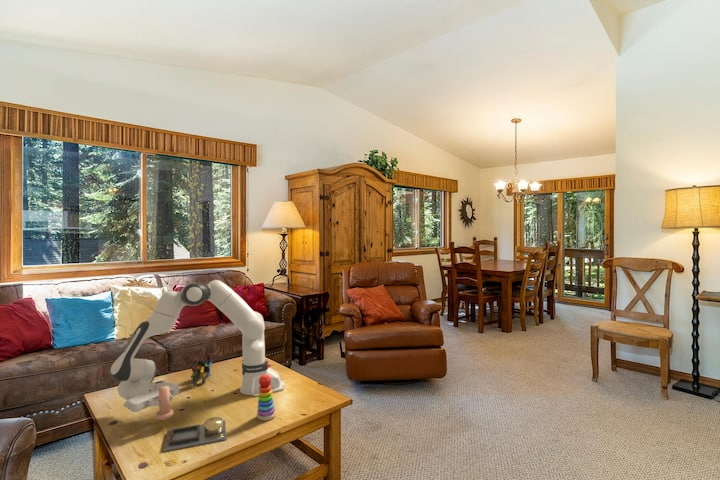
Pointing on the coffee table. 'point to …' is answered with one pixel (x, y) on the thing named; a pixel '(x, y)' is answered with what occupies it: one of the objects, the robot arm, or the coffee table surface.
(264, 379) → the stacking toy
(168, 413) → the pink peg on base
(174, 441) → the carrier plate
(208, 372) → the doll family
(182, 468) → the coffee table surface
